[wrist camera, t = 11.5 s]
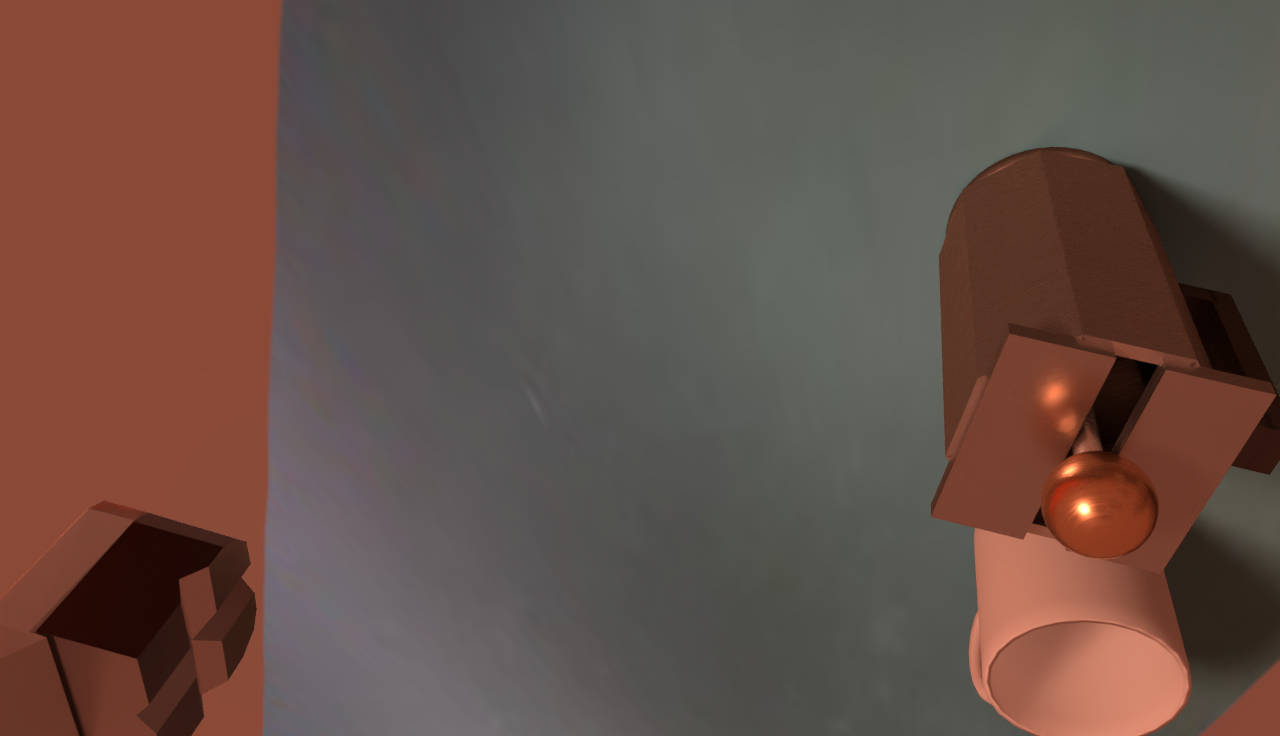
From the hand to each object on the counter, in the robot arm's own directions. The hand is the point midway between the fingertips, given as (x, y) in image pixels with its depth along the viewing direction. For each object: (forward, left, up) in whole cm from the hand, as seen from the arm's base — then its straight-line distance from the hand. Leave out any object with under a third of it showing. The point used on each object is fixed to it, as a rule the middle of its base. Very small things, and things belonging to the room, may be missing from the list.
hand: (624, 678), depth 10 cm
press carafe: (+14, +15, -41) cm, 46 cm away
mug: (+32, +20, -41) cm, 56 cm away
